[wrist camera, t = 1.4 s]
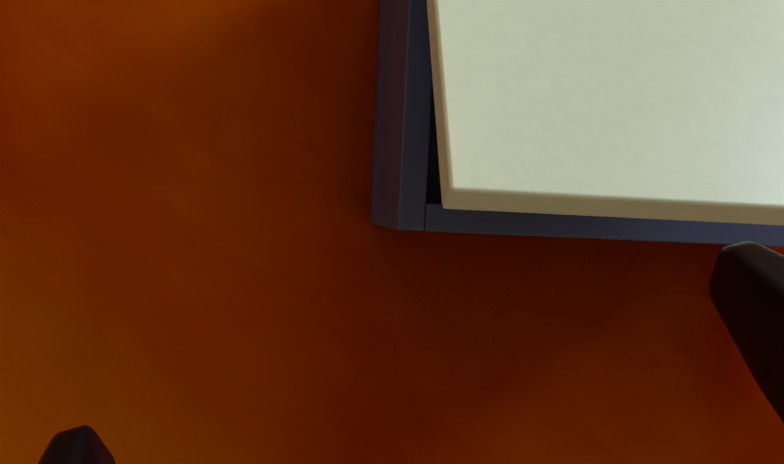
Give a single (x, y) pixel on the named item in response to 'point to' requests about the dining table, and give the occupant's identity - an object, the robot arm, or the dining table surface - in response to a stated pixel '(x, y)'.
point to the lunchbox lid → (611, 107)
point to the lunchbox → (421, 163)
